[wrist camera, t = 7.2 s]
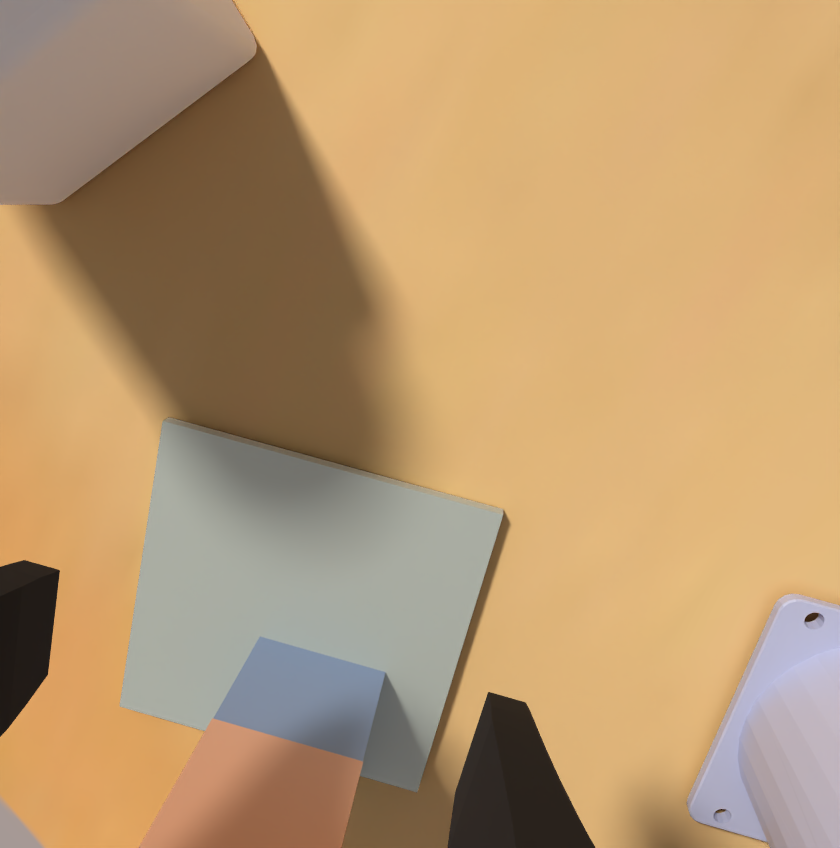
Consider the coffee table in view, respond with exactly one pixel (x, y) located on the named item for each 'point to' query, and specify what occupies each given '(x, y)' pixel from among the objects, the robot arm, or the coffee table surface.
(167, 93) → the medicine bottle
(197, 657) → the plate
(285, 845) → the salmon orange cube
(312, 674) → the blue brick
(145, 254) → the coffee table surface
